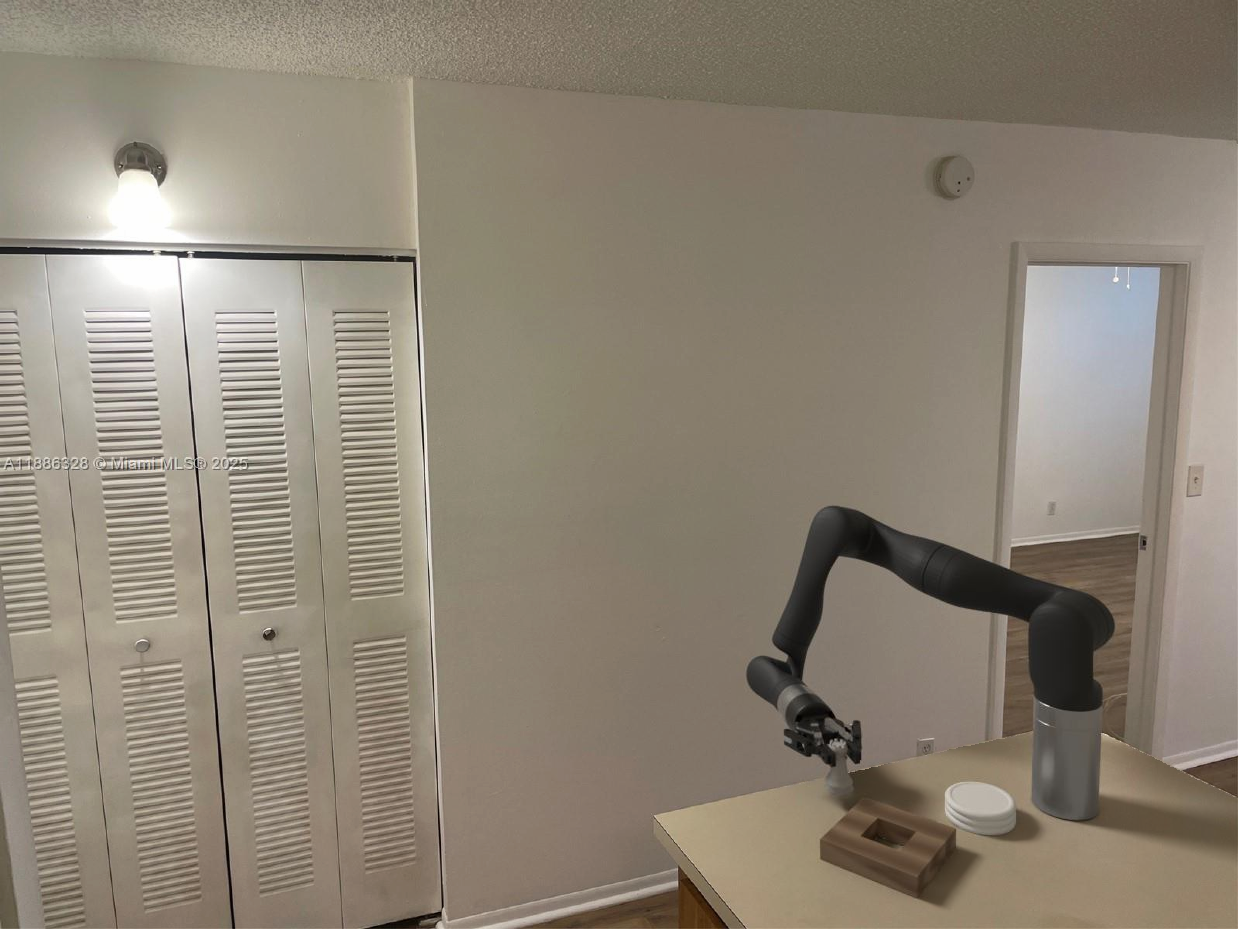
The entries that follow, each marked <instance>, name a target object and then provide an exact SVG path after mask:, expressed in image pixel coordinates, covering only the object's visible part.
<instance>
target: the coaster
mask: <svg viewBox="0 0 1238 929" xmlns="http://www.w3.org/2000/svg"><path fill="white" fill-rule="evenodd" d="M944 798H945V799H944V813H945V815H946V818H947V820H949V822H951V823H952V824H953V825H954V826H956V827H958V828H960V829H962V830H963V831H966V832H968V833H969V832H970V833H973V834H976V835H983V836H998V835H999V836H1000V835H1005V834H1007V833H1009V832H1011V831H1013V829H1014V828H1015V827H1016V824H1017V819H1016V818H1017V803H1016V800H1015V798H1013V797H1012V795H1010V794H1009V793H1008V792H1007V791H1005V790H1004V789H1002V788H1001V787H999V786H995V785H992V784H990V783H986V782H979V781H962V782H957V783H954V784H952V785H950V786H949V787H947V789H945V793H944Z"/></svg>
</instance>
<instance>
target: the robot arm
mask: <svg viewBox="0 0 1238 929" xmlns="http://www.w3.org/2000/svg"><path fill="white" fill-rule="evenodd" d="M839 557H843V558H849V559H854V560H855V559H856V560H860V561H863V562H866V563H870V564H872V565H875V566H878V567H880V568H883V569H885V570H887V571H889V572H891V573H893V574H894V575H896V576H897V577H898V578H900V579H901V580H902V581H904V583H906V584H908V585H909V586H910V587H912V588H913V589H914V590H917V591H919V592H921V593H923V594H924V595H927V596H929V597H931V598H934V599H937V600H938V601H940V602H943V603H945V604H948V605H950V606H954V607H957V608H960V609H961V608H962V609H966V610H972V611H977V612H983V613H984V612H985V613H991V614H998V615H1002V616H1003V615H1004V616H1008V617H1012V618H1015V619H1019V620H1021V621H1023V622H1026V623H1028V630H1027V634H1028V635H1027V640H1028V641H1027V643H1028V645H1027V650H1028V656H1027V657H1028V673H1029V674H1028V675H1029V678H1030V680H1031V682H1032V685H1033V707H1032V708H1033V709H1032V710H1033V717H1032V719H1033V720H1032V750H1031V751H1032V752H1031V753H1032V756H1031V759H1032V760H1031V786H1030V787H1031V788H1030V789H1031V793H1030V799H1031V802H1032V804H1033V805H1034V806H1035V807H1036V808H1037V809H1039V810H1040V811H1042V812H1043V813H1045V814H1048V815H1050V816H1053V817H1055V818H1059V819H1063V820H1071V821H1085V820H1089V819H1092V818H1093V819H1094V818H1095V817H1096V816H1097V815H1098V814H1099V804H1100V800H1099V799H1100V783H1101V780H1100V779H1101V778H1100V777H1101V755H1102V754H1101V752H1102V751H1101V749H1102V730H1103V728H1102V725H1103V723H1102V721H1103V697H1104V696H1103V695H1104V694H1103V692H1104V691H1103V687H1102V685H1101V683H1100V682H1099V681H1097V680H1096V679H1095V678H1094V652H1096V651H1097V650H1100V649H1101V648H1102V647H1104V646H1105V645H1106V644H1107V643H1108V642H1109V641H1110V640H1111V638H1112V637H1113V636H1114V633H1115V629H1116V625H1115V624H1116V623H1115V618H1114V616H1113V614H1112V612H1111V611H1110V610H1109V608H1108V607H1107V606H1106V605H1105V604H1104V602H1102V601H1101V600H1100V599H1099V598H1097V597H1095V596H1094V595H1092V594H1089V593H1087V592H1085V591H1081V590H1078V589H1073V588H1070V587H1067V586H1063V585H1059V584H1055V583H1052V582H1047V581H1044V580H1041V579H1037V578H1033V577H1030V576H1028V575H1025V574H1022V573H1020V572H1017V571H1015V570H1012V569H1010V568H1007V567H1005V566H1003V565H1000V564H998V563H995V562H993V561H989V560H986V559H984V558H981V557H980V556H979V557H978V556H976V555H974V554H973V553H969V552H967V551H965V550H961V549H959V548H957V547H954V546H953V545H952V546H951V545H949V544H946V543H942V542H939V541H937V540H934V539H930V538H926V537H923V536H918V535H914V534H908V533H906V532H902V531H899V530H898V529H896V528H893V527H891V526H890V525H887V524H885V523H883V522H881V521H879V520H877V519H875V518H874V517H872V516H869V515H868V514H866V513H864V512H862V511H860V510H857V509H854V508H849V507H845V506H840V505H828V506H824V507H823V508H821V509H820V510H819V511H818V512H817V513H816V514H815V515H814V517H813V519H812V521H811V523H810V527H809V530H808V533H807V538H806V540H805V545H804V547H803V551H802V556H801V559H800V563H799V567H798V570H797V573H796V577H795V581H794V583H793V587H792V590H791V593H790V595H789V598H788V600H787V603H786V605H785V607H784V610H783V612H782V613H781V616H780V618H779V620H778V623H777V624H776V628H775V629H774V632H773V634H772V637H771V641H772V644H773V646H774V647H776V649H778V650H779V651H780V652H782V653H784V654H785V655H786V656H787V657H786V658H787V659H786V661H784V660H782V659H777V658H774V657H770V656H769V655H758V656H756V657H754V658H752V659H751V660H750V662H749V663H748V665H747V667H746V675H745V676H746V677H745V678H746V681H747V685H748V686H749V688H750V689H751V690H752V692H753V693H754V694H756V695H757V696H759V697H760V698H762V699H763V700H764V701H766V702H768V704H770V705H772V706H773V708H775V710H776V711H777V712H778V714H780V717H781V719H782V720H783V722H784V723H785V724H786V726H787V727H788V728H784V729H783V745H784V746H786V747H787V748H789V749H791V750H793V751H795V752H797V753H798V754H800V755H802V756H804V757H807V758H811V757H812V756H813V755H815V756H816V757H817V758H818V759H819V758H820V759H821V760H822V762H823V763H824V764H825V765H828V766H829V768H830V767H836V755H835V753H834V752H833V751H832V750H831V748H830V747H829V744H830V741H831V740H833V742H835V740H834V739H838V742H840V739H842V740H844V742H845V741H846V745H847V746H848V748H849V750H848V752H847V753H846V756H847V757H848V758H849V759H850V760H851V762H852V763H853V764H854V765H859V764H861V761H862V750H863V746H862V737H863V735H862V726H861V725H862V724H861V721H860V720H857V719H856V720H855V719H854V720H852V723H849V724H848V723H844V722H843V721H842V720H841V719H838V718H837V717H836V715H835V713H834V711H833V709H831V707H830V706H829V705H827V703H826V702H825V701H824V700H823V699H822V698H821V697H820V696H819V695H818V694H817V693H816V692H815V691H814V690H813V689H811V688H810V687H808V685H806V683H805V682H804V680H803V678H804V670H805V664H806V660H807V654H808V651H809V647H810V646H811V643H812V641H813V639H814V638H815V634H816V633H817V631H818V628H819V625H820V623H821V620H822V616H823V610H824V598H825V587H826V584H827V580H828V578H829V577H828V576H829V574H830V572H831V570H832V568H833V566H834V564H835V562H837V560H838V558H839Z"/></svg>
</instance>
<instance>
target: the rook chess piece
mask: <svg viewBox="0 0 1238 929" xmlns="http://www.w3.org/2000/svg"><path fill="white" fill-rule="evenodd" d="M834 740H835V742H833V740H831V741H830V744H828V746H829V747H830V748H831V750H832V751H833V752H834V753H835V755H836V767H830V766H829V770H828V771H829V772H827V775H826V776H825V779H824V780H825V781H824V782H825V784H824V788H825V790H826V791H827V793H829V794H830V795H832V796H835V797H847V796H849V795H850V794H852V792H853V791H854V781H853V779H852V777H851V775H850V773H849V771H848V765H847V760H848V758H849V757H848V756H847V755H846V753H847V752H848V750H849V748H848V746H847V745H846V741H845V742H844V740H842V739H840V742H838V739H834Z"/></svg>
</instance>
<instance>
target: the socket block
mask: <svg viewBox="0 0 1238 929" xmlns="http://www.w3.org/2000/svg"><path fill="white" fill-rule="evenodd" d="M880 837H881V838H880ZM877 838H880V839H883V838H885V839H887V840H886V841H888V840H889V842H892V843H893V842H895V843H894V844H896V843H897V844H896V845H900V846H902V848H900V850H898V849H896V848H894V847H890V846H888V845H884V844H883V843H880V842H877V841H876V840H877ZM885 839H884V840H885ZM956 848H957V828H956V827H953V826H950V825H948V824H947V825H946V824H944V823H942V822H938V821H936V820H933V819H929V818H926V817H924V816H920V815H919V814H915V813H912V812H910V811H906V810H903V809H901V808H897V807H894V806H891V805H888V804H887V803H883V802H879V801H877V800H874V799H871V798H867V797H866V796H864V797H862V798H861V799H860V800H859V801H858V802H857V803H856V804H855V805H854V806H853V807H851V809H850V810H849V811H848V812H847V813H846V814H845V815H844V816H842V818H840V819H839V820H838V821H837V822H836V823H835V824H834V825H833V826H832V827H831V828H830V829H828V831H827V832H826V833H825V834H823V836H821V837H820V838H819V859H820V860H822V861H824V862H828V863H829V862H830V864H832V865H834V866H837V867H839V866H840V868H841V869H844V870H847V871H849V872H852V873H854V874H857V875H859V876H862V877H864V878H867V879H869V880H871V881H874V882H877V883H879V884H881V885H884V886H886V887H888V888H891V889H893V890H896V891H898V892H900V893H904V894H906V895H908V896H910V897H913V898H916V899H918V898H919V896H920V895H921V894H922V892H923V891H924V890H925V888H926V887H927V886H928V884H929V883H930V882H931V881H932V880H933V878H934V877H935V876H936V874H937V873H938V872H939V870H940V869H941V868H942V866H943V865H944V864H945V863H946V862H947V860H948V859H949V858H950V856H951V855H952V853H953V852H954V851H955V850H956Z"/></svg>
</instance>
